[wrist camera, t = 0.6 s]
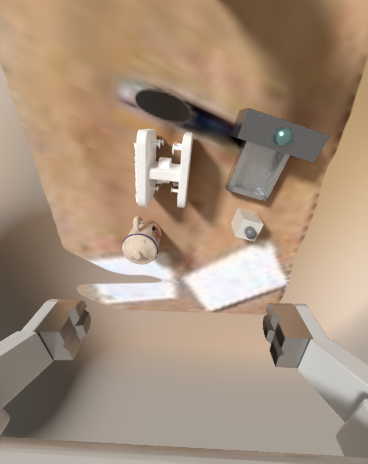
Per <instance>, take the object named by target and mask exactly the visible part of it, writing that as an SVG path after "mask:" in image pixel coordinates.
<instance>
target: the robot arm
mask: <svg viewBox="0 0 368 464" xmlns="http://www.w3.org/2000/svg"><path fill="white" fill-rule="evenodd" d="M86 307H87V305H86V303H85V301H82V300H59V299H50V300H48V301H46V302H45V304H44V305H43V306H42V307H41V308H40V310H39V311H38V312H37V313H36V314H35V315H34V316H33V318H32V319H31V320H30V321H29V322H28V323H27V325H26V326H25V327H24V328H23V329H22V330H21V332H15V333H14V334H12V335H11V336H9V337H7V338H6V339H4V340H2V341H1V342H0V435H1V433H2V432H3V430H4V429H5V427H6V425H7V424H8V422H9V420H10V419H9V415H8V414H7V413H6V412H5V411H4V410H3V409H2V408H3V407H4V406H5V405H6V404H7V403H8V402H9V401H10V400H12V399H13V398H14V397H15V396H16V395H17V394H18V393H19V392H20V391H21V390H22V389H23V388H25V387H26V386H27V385H28V384H29V383H30V382H31V381H32V380H33V379H34V378H35V377H36V376H38V375H39V374H40V373H41V372H42V371H43V370H44V369H45V368H46V367H47V366H48V365H49V364H51V362H53V360H73V359H74V357H75V355H76V353H77V351H78V349H79V347H80V346H81V341H80V339H81V338H83V337H84V336H85V335H86V334H87V332H88V330H89V327H90V323H91V317H90V314H89V312H87V311H86V310H85V308H86ZM266 312H267V315H265V316H264V319H263V330H264V335H265V338H266V340H267V341H268V342H269V343H270V344H271V347H270V352H271V356H272V358H273V361H274V364H275V367H286V368H298V371H299V372H300V373H301V374H302V375H303V376H304V377H305V378H306V380H307V381H308V382H309V383H310V384H311V385H312V386H313V387H314V388H315V390H317V392H318V393H319V394H320V395H321V396H322V397H323V399H324V400H325V401H326V402H327V403H328V404H329V405H330V406H331V407H332V409H334V411H335V412H336V413H337V414H338V415H339V416H340V417H341V418H342V420H343V421H344V422H345V424H344V425H343V426H342V427H341V428H340V430H339V431H338V432H337V435H336V439H337V441H338V443H339V445H340V447H341V450H342V452H343V454H344V456H330V455H312V454H294V453H276V452H258V451H240V450H221V449H204V448H186V447H168V446H149V445H132V444H114V443H97V442H79V441H59V440H42V439H24V438H5V437H0V464H368V365H366V364H365V363H364V362H363V361H361V360H360V359H359V358H357V357H356V356H354V355H353V354H352V353H350V352H349V351H348V350H346V349H345V348H343V347H342V346H341V345H339V344H338V343H337V342H335V341H334V340H329V339H328V337H327V336H326V334H325V333H324V331H323V329H322V328H321V326H320V325H319V323H318V322H317V320H316V319H315V317H314V315H313V314H312V312H311V311H310V309H309V308H308V306H307V305H306V304H274V303H268V304H267V306H266Z"/></svg>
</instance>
